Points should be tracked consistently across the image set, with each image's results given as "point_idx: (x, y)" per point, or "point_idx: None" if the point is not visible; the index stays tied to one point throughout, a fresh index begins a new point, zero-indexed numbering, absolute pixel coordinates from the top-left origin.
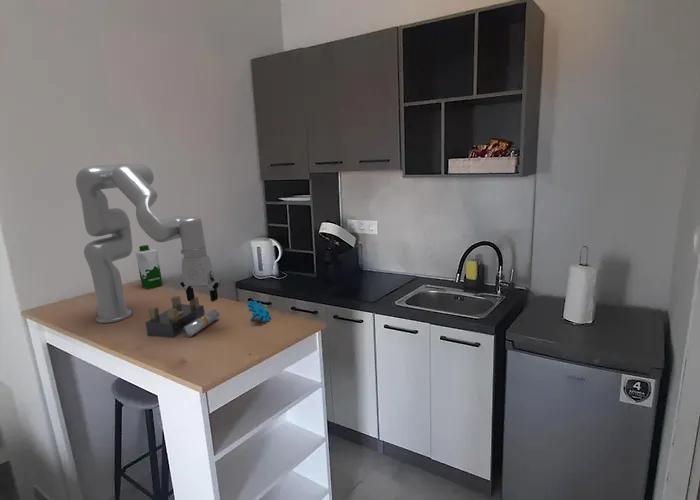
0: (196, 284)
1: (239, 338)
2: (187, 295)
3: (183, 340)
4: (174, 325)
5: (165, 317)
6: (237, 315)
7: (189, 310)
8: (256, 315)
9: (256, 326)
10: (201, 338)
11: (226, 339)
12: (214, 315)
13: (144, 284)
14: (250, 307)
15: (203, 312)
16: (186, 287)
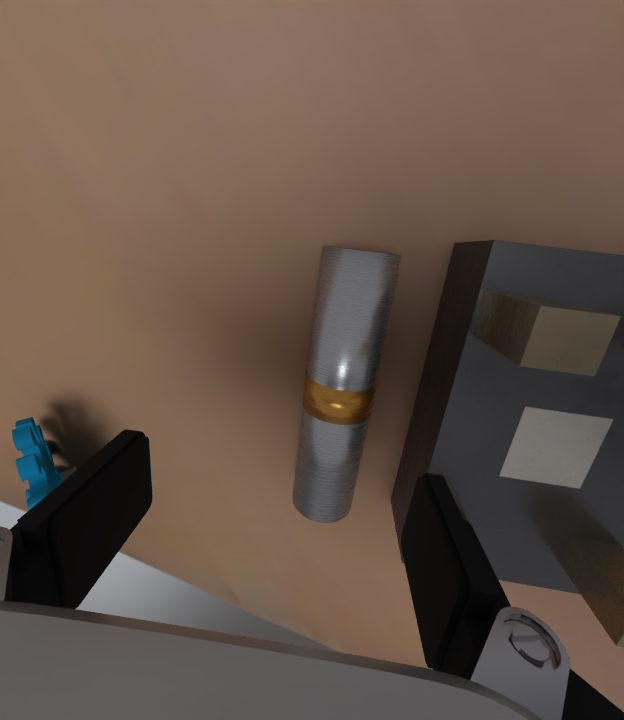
0: (149, 674)
1: (56, 248)
2: (452, 521)
3: (369, 202)
4: (475, 267)
5: (611, 374)
6: (234, 515)
7: (462, 492)
8: (74, 467)
9: (66, 394)
10: (269, 238)
11: (117, 231)
12: (297, 468)
13: None
14: (21, 477)
15: (397, 520)
16: (506, 663)
